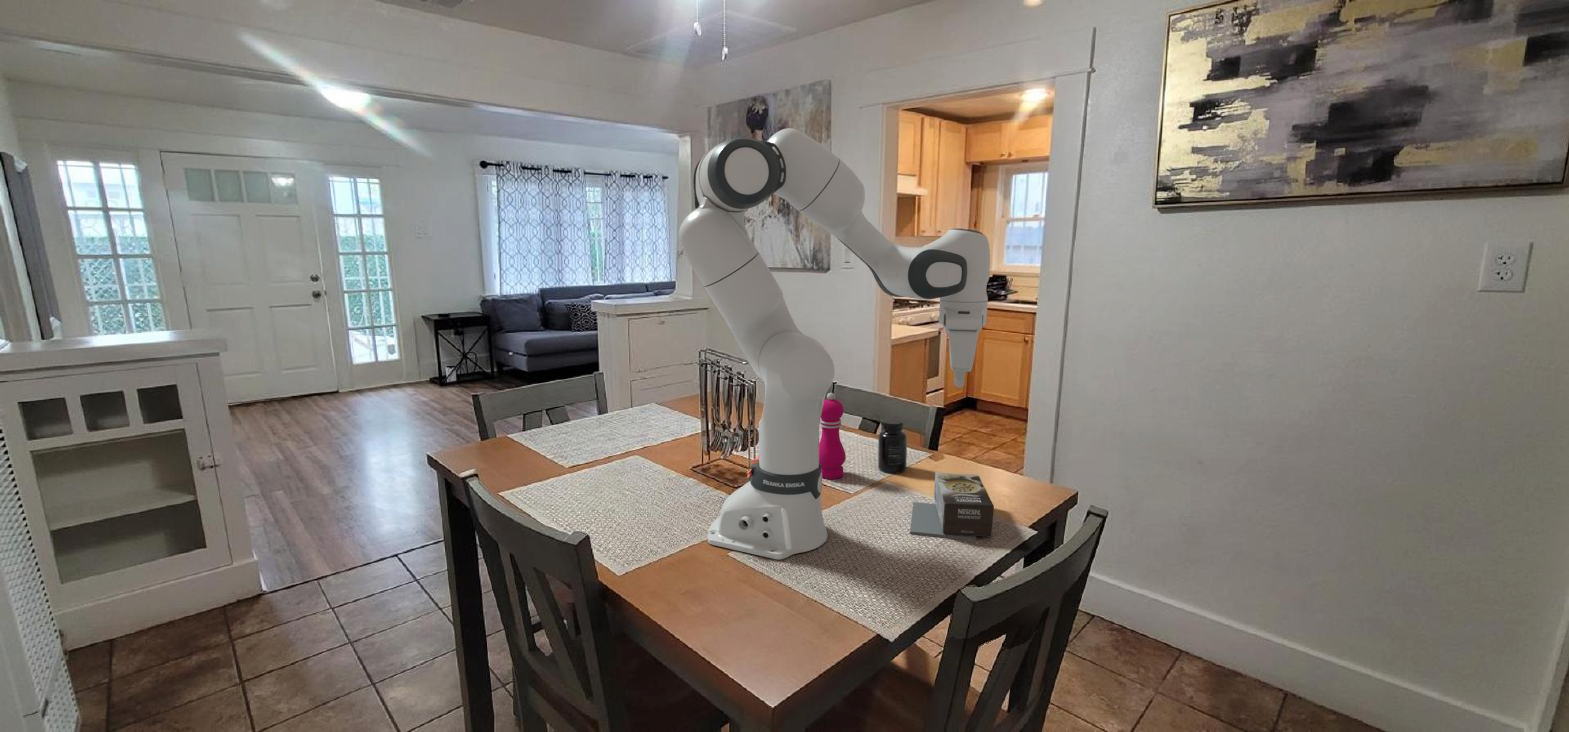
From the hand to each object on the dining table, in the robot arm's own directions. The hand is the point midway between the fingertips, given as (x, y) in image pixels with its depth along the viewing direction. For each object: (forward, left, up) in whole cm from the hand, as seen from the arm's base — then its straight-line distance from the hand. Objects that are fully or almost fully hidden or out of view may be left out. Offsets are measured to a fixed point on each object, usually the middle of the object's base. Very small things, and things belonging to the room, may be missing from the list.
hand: (958, 385), depth 123 cm
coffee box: (+1, +5, -23) cm, 23 cm away
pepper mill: (-28, +15, -27) cm, 42 cm away
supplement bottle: (-14, +22, -27) cm, 37 cm away
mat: (-2, -5, -27) cm, 27 cm away
